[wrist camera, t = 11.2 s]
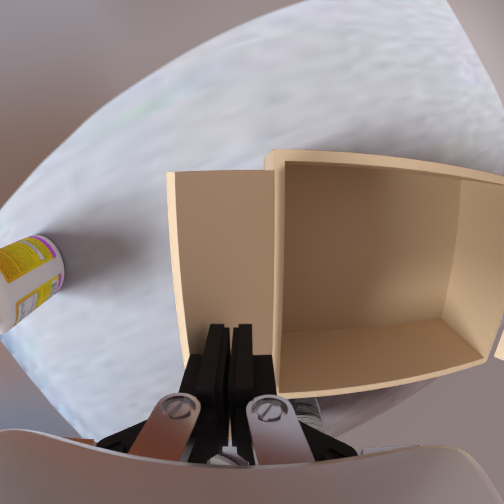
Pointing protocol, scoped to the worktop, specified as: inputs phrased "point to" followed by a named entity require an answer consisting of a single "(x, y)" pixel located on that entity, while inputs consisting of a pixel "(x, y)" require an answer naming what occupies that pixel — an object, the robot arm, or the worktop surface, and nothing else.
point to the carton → (382, 270)
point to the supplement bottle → (27, 278)
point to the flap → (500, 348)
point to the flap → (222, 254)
